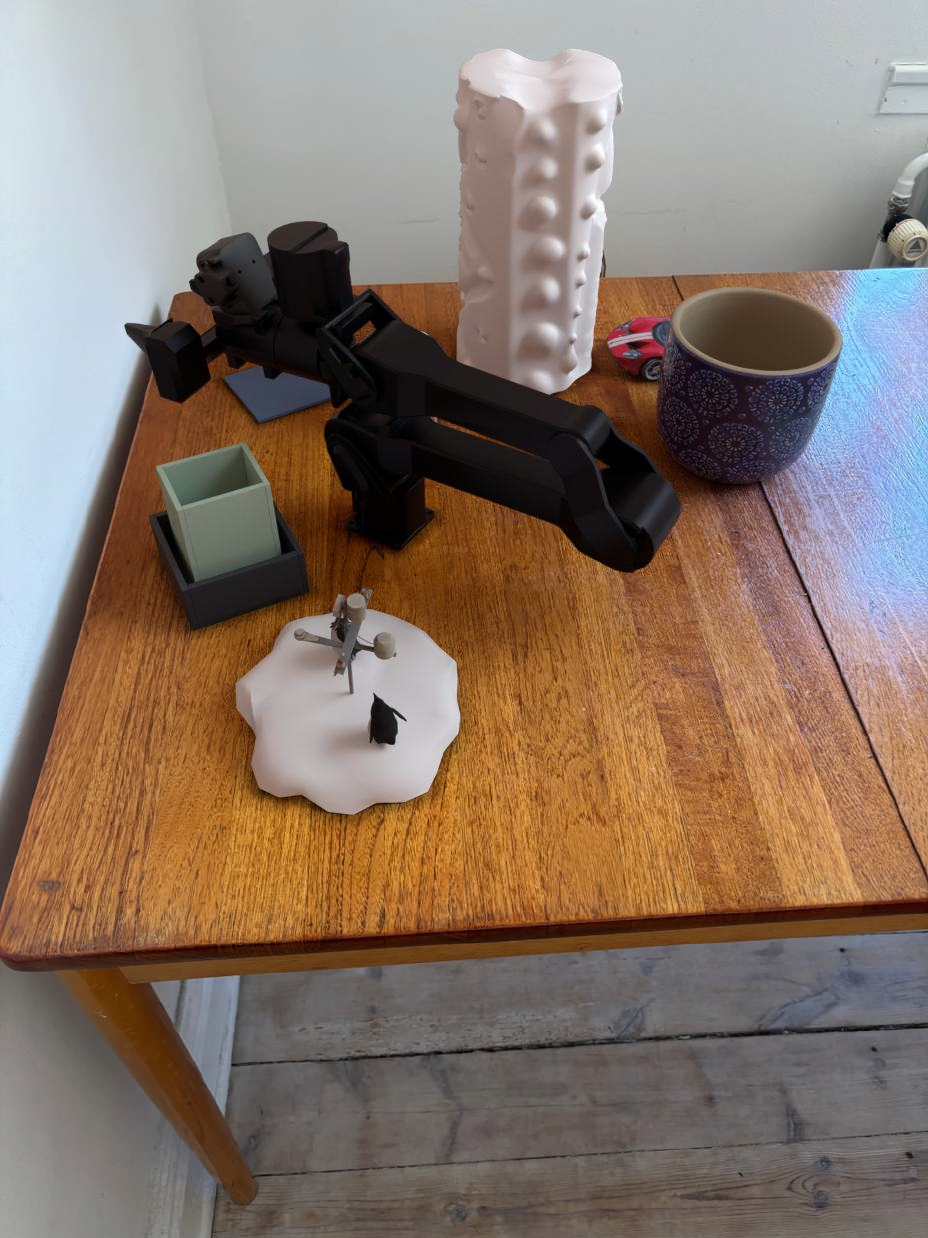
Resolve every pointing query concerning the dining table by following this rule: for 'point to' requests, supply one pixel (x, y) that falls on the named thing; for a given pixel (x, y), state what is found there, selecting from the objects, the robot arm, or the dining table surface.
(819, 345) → the planter
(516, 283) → the vase
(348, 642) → the figurine
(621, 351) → the toy car
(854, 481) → the dining table surface
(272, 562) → the charcoal basket
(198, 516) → the green basket
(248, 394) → the mat
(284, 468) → the dining table surface
